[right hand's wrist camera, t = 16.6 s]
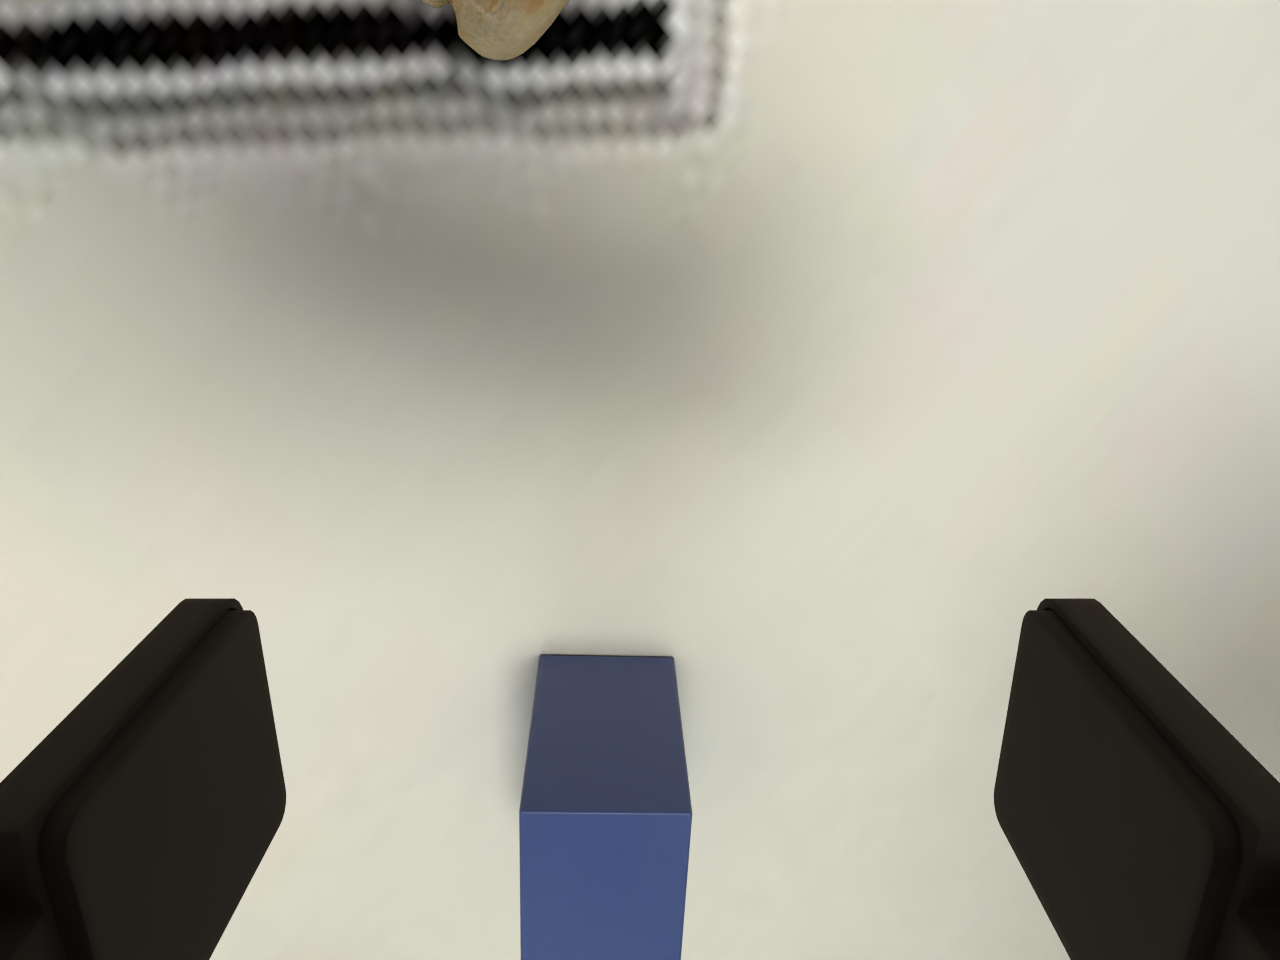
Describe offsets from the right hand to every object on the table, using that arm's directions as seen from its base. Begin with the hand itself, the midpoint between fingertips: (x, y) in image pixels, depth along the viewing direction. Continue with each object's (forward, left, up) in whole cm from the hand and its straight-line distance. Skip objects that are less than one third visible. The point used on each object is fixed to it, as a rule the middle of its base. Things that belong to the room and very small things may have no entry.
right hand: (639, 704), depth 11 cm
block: (+8, -14, -21) cm, 27 cm away
